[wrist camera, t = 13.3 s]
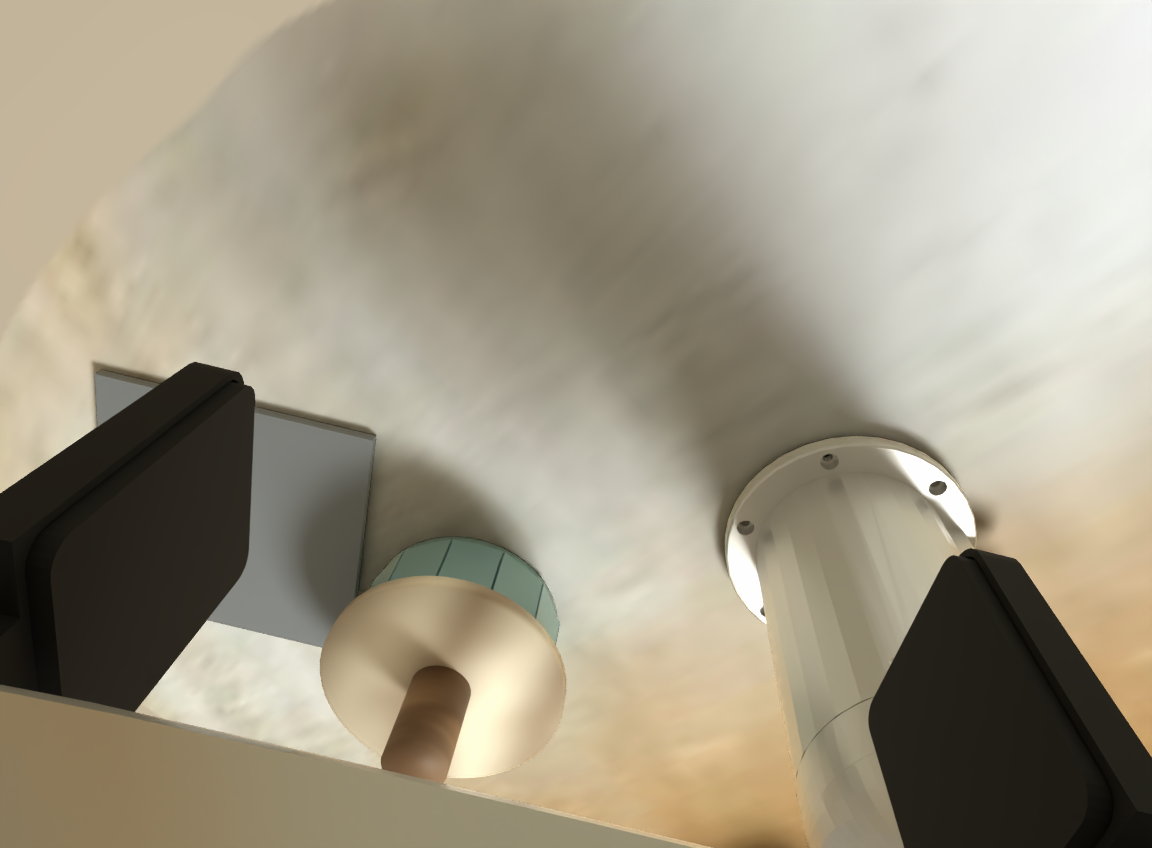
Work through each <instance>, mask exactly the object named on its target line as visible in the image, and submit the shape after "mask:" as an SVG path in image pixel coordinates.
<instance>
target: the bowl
mask: <svg viewBox="0 0 1152 848" xmlns="http://www.w3.org/2000/svg"><path fill="white" fill-rule="evenodd" d="M412 576H443V577H450V578H456V579H462V580H466V581H469V582H473V583H476V584H479V585H482V586H484V587H487V588H489V589H492V590H494V591H496V592H498V593H500V594H502V595H504V596H506V597H508V598H509V599H511V600H512V601H514V602H515V603H517V604H518V605H520V606H521V607H523V608H524V609H525V610H526V611H527V612H529V613H530V614H531V615H532V616H533V617H534V618H535V619H536V620H537V621H538V622H539V623H540V624H541V625H542V626H543V627H544V629H545V630H546V631H547V633H548V634H549V635H550V637H551V638H552V640H553V641H554V643H555V645H556V641H557V636H558V630H559V625H560V624H559V620H558V618H557V611H556V606H555V603H554V600H553V597H552V595H551V593H550V591H549V589H548V587H547V586H546V584H545V583H544V581H543V580H542V578H541V577H540V576H539V575H538V574H537V573H536V571H535V570H534V569H533V568H531V567H530V566H529V565H528V564H527V563H526V562H525V561H523V560H522V559H520V558H519V557H518V556H516V555H515V554H513V553H511V552H509V551H507V550H506V549H504V548H501V547H499V546H497V545H494V544H492V543H488V542H485V541H482V540H477V539H472V538H464V537H441V538H435V539H430V540H426V541H423V542H419V543H417V544H415V545H412V546H410V547H408V548H407V549H405V550H403V551H402V552H400V553H399V554H398V555H396V556H395V557H394V558H393V559H392V560H391V561H390V562H389V563H388V564H387V566H386V567H385V568H384V570H383V571H382V572H381V573H380V574H379V575H378V576H377V577H376V578H375V579H374V581H373V583H372V585H371V587H370V588H373V587H375V586H377V585H379V584H382V583H385V582H388V581H392V580H395V579H399V578H405V577H412Z"/></svg>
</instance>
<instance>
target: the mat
mask: <svg viewBox="0 0 1152 848" xmlns="http://www.w3.org/2000/svg"><path fill="white" fill-rule="evenodd" d="M158 385H159V383H154V382H150V381H146V380H142V379H138V378H134V377H129V376H125V375H121V374H117V373H113V372H109V371H104V370H101V371H99V372H97V373H96V374H95V391H96V408H97V426H100V425H101V424H102V423H104V422H105V421H107V420H108V419H110V418H111V417H113V416H114V415H116V414H117V413H119V412H120V411H121V410H123V409H124V408H126V407H127V406H129V405H130V404H132V403H133V402H135V401H136V400H138V399H139V398H140V397H142V396H143V395H145V394H146V393H148V392H149V391H151V390H152V389H154V388H155V387H156V386H158ZM375 442H376V436H375V435H371V434H367V433H363V432H359V431H354V430H350V429H346V428H342V427H338V426H334V425H329V424H325V423H321V422H317V421H313V420H309V419H304V418H300V417H296V416H292V415H288V414H284V413H279V412H275V411H271V410H267V409H263V408H259V407H255V414H254V439H253V463H252V487H251V512H250V536H249V554H248V559H247V563H246V566H245V569H244V571H243V573H242V575H241V577H240V578H239V580H238V581H237V582H236V584H235V585H234V586H233V587H232V589H231V590H230V591H229V593H228V594H227V595H226V596H225V598H224V599H223V600H222V601H221V603H220V604H219V605H218V607H217V608H216V609H215V610H214V612H213V613H212V614H211V615H210V617H209V618H208V619H207V620H209V621H213V622H217V623H221V624H226V625H230V626H234V627H238V628H242V629H246V630H251V631H255V632H259V633H263V634H267V635H272V636H276V637H280V638H284V639H288V640H293V641H297V642H301V643H305V644H309V645H314V646H318V647H322V648H323V645H324V643H325V640H326V637H327V636H328V634H329V632H330V630H331V629H332V627H333V625H334V623H335V622H336V620H337V618H338V616H339V615H340V613H341V612H342V611H343V610H344V609H345V608H346V606H347V605H348V604H349V603H350V602H352V601H353V600H354V599H355V598H356V597H357V594H358V586H359V577H360V569H361V560H362V552H363V543H364V535H365V527H366V518H367V510H368V501H369V493H370V484H371V476H372V467H373V459H374V451H375Z"/></svg>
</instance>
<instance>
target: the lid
mask: <svg viewBox="0 0 1152 848" xmlns="http://www.w3.org/2000/svg"><path fill="white" fill-rule="evenodd" d="M320 676H321V682H322V687H323V690H324V693H325V696H326V699H327V701H328V703H329V705H330V707H331V709H332V710H333V712H334V713H335V715H336V716H337V718H338V719H339V721H340V722H341V723H342V724H343V725H344V727H345V728H346V729H347V730H348V731H349V732H350V733H351V734H352V735H353V736H354V737H355V738H356V739H357V740H358V741H360V742H361V743H362V744H364V745H365V746H366V747H367V748H369V749H370V750H372V751H373V752H375V753H377V754H378V755H380V756H381V766H382V769H383V770H387V771H392V772H396V773H400V774H405V775H409V776H413V777H418V778H422V779H426V780H431V781H435V782H439V783H443V782H444V781H445V780H446V778H447V777H450V778H474V777H484V776H489V775H494V774H498V773H502V772H505V771H507V770H510V769H513V768H515V767H517V766H519V765H521V764H523V763H525V762H527V761H528V760H530V759H531V758H533V757H534V756H535V755H537V754H538V753H539V752H540V751H541V750H542V749H543V748H544V747H545V746H546V745H547V744H548V743H549V741H550V740H551V739H552V737H553V736H554V734H555V732H556V730H557V729H558V726H559V724H560V721H561V718H562V714H563V708H564V702H565V695H566V675H565V669H564V664H563V661H562V658H561V655H560V653H559V651H558V649H557V647H556V645H555V643H554V641H553V640H552V638H551V637H550V635H549V634H548V633H547V631H546V630H545V629H544V627H543V626H542V625H541V624H540V623H539V622H538V621H537V620H536V619H535V618H534V617H533V616H532V615H531V614H530V613H529V612H527V611H526V610H525V609H524V608H523V607H521V606H520V605H518V604H517V603H515V602H514V601H512V600H511V599H509V598H508V597H506V596H504V595H502V594H500V593H498V592H496V591H494V590H492V589H489V588H487V587H484V586H482V585H479V584H476V583H473V582H469V581H466V580H462V579H456V578H450V577H443V576H412V577H405V578H399V579H395V580H392V581H388V582H385V583H382V584H379V585H377V586H375V587H373V588H370V589H369V590H367V591H365V592H364V593H362V594H360V595H359V596H357V597H356V598H355V599H354V600H353V601H352V602H350V603H349V604H348V605H347V606H346V608H345V609H344V610H343V611H342V612H341V613H340V615H339V616H338V618H337V620H336V622H335V623H334V625H333V627H332V629H331V630H330V632H329V634H328V636H327V637H326V640H325V643H324V645H323V648H322V653H321V658H320Z"/></svg>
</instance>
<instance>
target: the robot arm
mask: <svg viewBox="0 0 1152 848" xmlns="http://www.w3.org/2000/svg"><path fill="white" fill-rule="evenodd" d="M254 414H255V393H254V389H253V388H252V387H251V386H247V385H244V381H243V378H242V376H241V374H240V373H239V372H235V371H231V370H227V369H223V368H219V367H215V366H210V365H206V364H202V363H198V362H193V363H191V364H189V365H187V366H186V367H184V368H183V369H181V370H180V371H178V372H177V373H175V374H174V375H173V376H171V377H170V378H168V379H167V380H165V381H164V382H162V383H161V384H159V385H158V386H156V387H155V388H154V389H152V390H151V391H149V392H148V393H146V394H145V395H143V396H142V397H140V398H139V399H138V400H136V401H135V402H133V403H132V404H130V405H129V406H127V407H126V408H124V409H123V410H121V411H120V412H119V413H117V414H116V415H114V416H113V417H111V418H110V419H108V420H107V421H105V422H104V423H102V424H101V425H100V426H98V427H97V428H95V429H94V430H92V431H91V432H89V433H88V434H86V435H85V436H83V437H82V438H81V439H79V440H78V441H76V442H75V443H73V444H72V445H70V446H69V447H67V448H66V449H65V450H63V451H62V452H60V453H59V454H57V455H56V456H54V457H53V458H51V459H50V460H48V461H47V462H46V463H44V464H43V465H41V466H40V467H38V468H37V469H35V470H34V471H32V472H31V473H29V474H28V475H27V476H25V477H24V478H22V479H21V480H19V481H18V482H16V483H15V484H13V485H12V486H11V487H9V488H8V489H6V490H5V491H3V492H2V493H0V848H712V847H708V846H704V845H700V844H696V843H691V842H687V841H683V840H679V839H675V838H670V837H666V836H662V835H658V834H654V833H650V832H645V831H641V830H637V829H633V828H629V827H624V826H620V825H616V824H612V823H608V822H603V821H599V820H595V819H591V818H587V817H583V816H578V815H574V814H570V813H566V812H561V811H557V810H553V809H549V808H545V807H540V806H536V805H532V804H528V803H523V802H519V801H515V800H511V799H507V798H502V797H498V796H494V795H490V794H485V793H481V792H477V791H473V790H469V789H464V788H460V787H456V786H452V785H447V784H443V783H439V782H435V781H431V780H426V779H422V778H418V777H413V776H409V775H405V774H400V773H396V772H392V771H387V770H383V769H379V768H374V767H370V766H366V765H361V764H357V763H353V762H349V761H344V760H340V759H336V758H331V757H327V756H323V755H318V754H314V753H310V752H305V751H301V750H297V749H292V748H288V747H284V746H279V745H275V744H271V743H266V742H262V741H258V740H254V739H249V738H245V737H241V736H236V735H232V734H228V733H223V732H219V731H215V730H210V729H206V728H202V727H197V726H193V725H189V724H184V723H180V722H176V721H171V720H167V719H162V718H158V717H154V716H149V715H145V714H140V713H136V712H135V711H136V709H137V708H138V707H139V706H140V704H141V703H142V702H143V701H144V699H145V698H146V697H147V696H148V694H149V693H150V692H151V690H152V689H153V688H154V687H155V685H156V684H157V683H158V682H159V680H160V679H161V678H162V676H163V675H164V674H165V673H166V671H167V670H168V669H169V668H170V666H171V665H172V664H173V662H174V661H175V660H176V659H177V657H178V656H179V655H180V654H181V652H182V651H183V650H184V648H185V647H186V646H187V645H188V643H189V642H190V641H191V640H192V638H193V637H194V636H195V635H196V633H197V632H198V631H199V629H200V628H201V627H202V626H203V624H204V623H205V622H206V621H207V619H208V618H209V617H210V615H211V614H212V613H213V612H214V610H215V609H216V608H217V607H218V605H219V604H220V603H221V601H222V600H223V599H224V598H225V596H226V595H227V594H228V593H229V591H230V590H231V589H232V587H233V586H234V585H235V584H236V582H237V581H238V580H239V578H240V577H241V575H242V573H243V571H244V569H245V566H246V563H247V559H248V554H249V536H250V512H251V487H252V463H253V439H254ZM827 454H831V455H830V456H828V457H823V456H825V455H827ZM934 481H935V482H934ZM932 482H933V483H932ZM742 521H746V522H742ZM976 542H977V532H976V524H975V517H974V514H973V512H972V509H971V507H970V504H969V502H968V499H967V497H966V496H965V494H964V493H963V491H962V489H961V488H960V486H959V485H958V483H957V482H956V480H955V479H954V478H953V477H952V476H951V475H950V474H949V473H948V472H947V470H946V469H945V468H944V467H943V466H942V465H941V464H939V463H938V462H936V461H935V460H934V459H932V458H931V457H929V456H928V455H927V454H925V453H924V452H921V451H919V450H917V449H915V448H913V447H910V446H908V445H906V444H904V443H900V442H896V441H892V440H888V439H884V438H879V437H864V436H848V437H838V438H829V439H825V440H822V441H818V442H814V443H810V444H807V445H804V446H802V447H800V448H797V449H795V450H793V451H791V452H789V453H786V454H784V455H782V456H781V457H779V458H778V459H776V460H775V461H773V462H772V463H771V464H769V465H768V466H766V467H765V468H763V469H762V470H761V471H760V472H759V473H758V474H757V475H756V476H755V477H754V478H753V479H752V480H751V481H750V482H749V483H748V484H747V486H746V487H745V488H744V490H743V491H742V493H741V494H740V496H739V497H738V499H737V500H736V502H735V504H734V506H733V509H732V511H731V514H730V516H729V518H728V522H727V528H726V533H725V558H726V563H727V569H728V575H729V577H730V580H731V582H732V585H733V587H734V589H735V592H736V593H737V595H738V596H739V598H740V599H741V600H742V602H743V603H744V605H745V606H746V608H747V609H748V610H749V611H750V612H751V613H752V614H754V615H755V616H756V617H757V618H758V619H759V620H760V621H762V622H763V623H765V624H766V625H767V629H768V635H769V641H770V647H771V652H772V658H773V664H774V670H775V675H776V681H777V687H778V693H779V698H780V704H781V710H782V715H783V721H784V727H785V733H786V738H787V744H788V750H789V756H790V761H791V767H792V773H793V779H794V784H795V790H796V796H797V800H798V805H799V810H800V816H801V821H802V826H803V830H804V834H805V837H806V841H807V844H808V847H809V848H1152V757H1151V756H1150V754H1149V753H1148V751H1147V750H1146V748H1145V747H1144V746H1143V744H1142V743H1141V741H1140V740H1139V738H1138V737H1137V735H1136V734H1135V732H1134V731H1133V729H1132V728H1131V726H1130V725H1129V723H1128V722H1127V720H1126V719H1125V717H1124V716H1123V715H1122V713H1121V712H1120V710H1119V709H1118V707H1117V706H1116V704H1115V703H1114V701H1113V700H1112V698H1111V697H1110V695H1109V694H1108V692H1107V691H1106V689H1105V688H1104V686H1103V685H1102V684H1101V682H1100V681H1099V679H1098V678H1097V676H1096V675H1095V673H1094V672H1093V670H1092V669H1091V667H1090V666H1089V664H1088V663H1087V661H1086V660H1085V658H1084V657H1083V655H1082V654H1081V653H1080V651H1079V650H1078V648H1077V647H1076V645H1075V644H1074V642H1073V641H1072V639H1071V638H1070V636H1069V635H1068V633H1067V632H1066V630H1065V629H1064V627H1063V626H1062V624H1061V623H1060V622H1059V620H1058V619H1057V617H1056V616H1055V614H1054V613H1053V611H1052V610H1051V608H1050V607H1049V605H1048V604H1047V602H1046V601H1045V599H1044V598H1043V596H1042V595H1041V593H1040V592H1039V591H1038V589H1037V588H1036V586H1035V585H1034V583H1033V582H1032V580H1031V579H1030V577H1029V576H1028V574H1027V573H1026V571H1025V570H1024V568H1023V567H1022V565H1021V564H1020V563H1019V562H1018V561H1017V560H1016V559H1014V558H1010V557H1006V556H1002V555H998V554H993V553H989V552H985V551H981V550H977V549H976Z"/></svg>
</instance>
